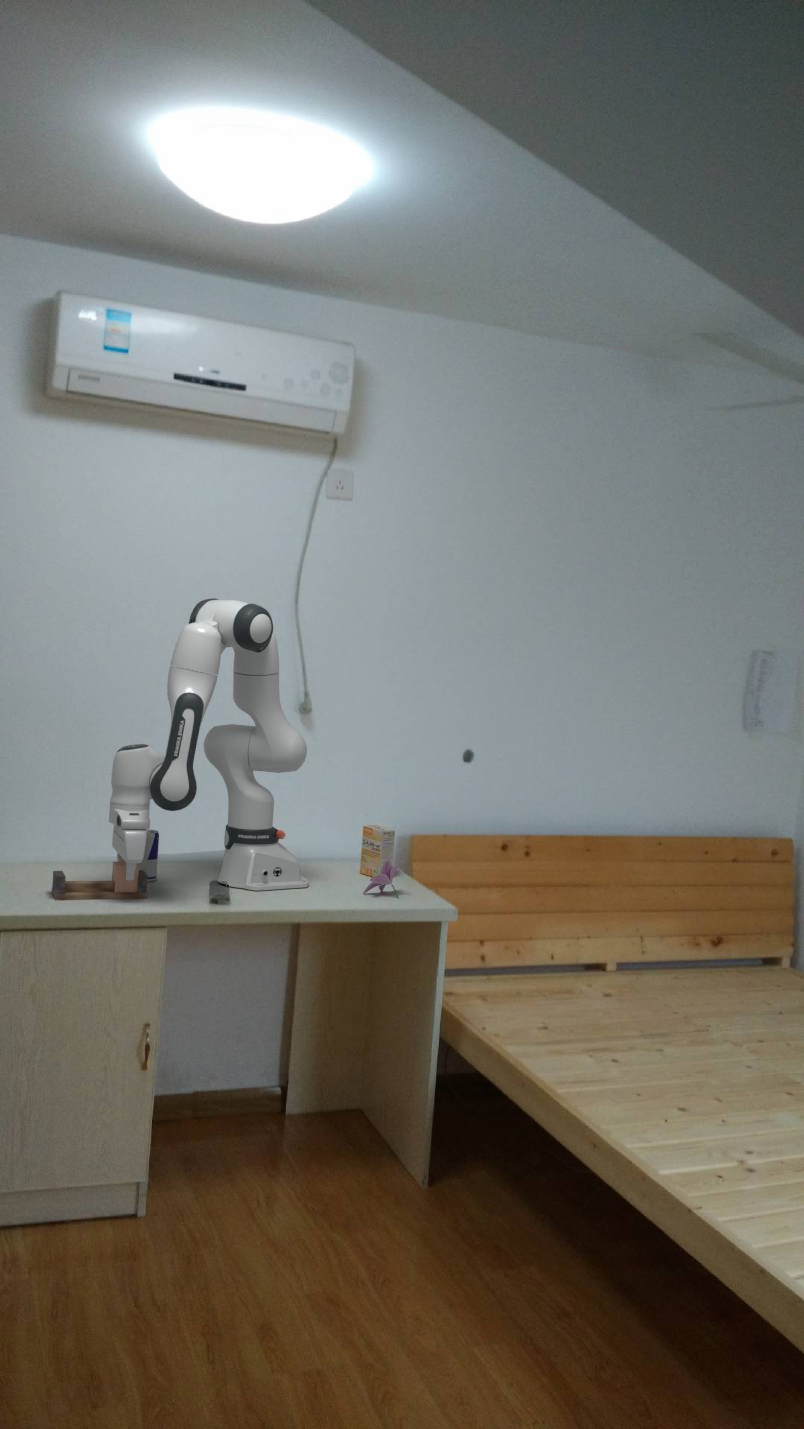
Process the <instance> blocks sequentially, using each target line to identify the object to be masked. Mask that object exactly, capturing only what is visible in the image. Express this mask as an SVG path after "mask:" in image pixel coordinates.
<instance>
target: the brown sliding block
mask: <svg viewBox="0 0 804 1429" xmlns="http://www.w3.org/2000/svg"><path fill="white" fill-rule="evenodd" d="M111 870H112V871H111V873H112V874H111V881H114V882H115V886H114V892H115V893H122V892H137V888H138V872H139V866H138V864H137V863H136V869H135V872H134V879H133V880H126V879H125V871H126V862H118V861H112V869H111Z"/></svg>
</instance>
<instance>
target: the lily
mask: <svg viewBox="0 0 804 1429" xmlns="http://www.w3.org/2000/svg"><path fill="white" fill-rule="evenodd" d="M404 862H405V859H402V860H400V861H399V862H397V863H395V864H394V865H393V863H392V862H391V860H390V859H387V860H386V861H385V863H384V864H383V865H382V867H381V869H380V874H378V875H376V876H374V877H371V878H370V879H369V882H370V883H369V884H368V885H367V887H365V890H364V891H363V893H362V895H365V894H366V893H367V892H369V891H371V890H372V889H374V888H376V887H378V890H379V891H380V892H383V891H384V890H385V887H386V885H391V887H392V889H393V890H394V893H395V895H396V898H397V899H399V896H398V893H397V890H396V888H395V886H394V885H393V879H394V877H395V876H397V875H399V874H401V873H402V870H401V869H400V868H399V867H400V866H401V865H402V864H403V863H404Z"/></svg>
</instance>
